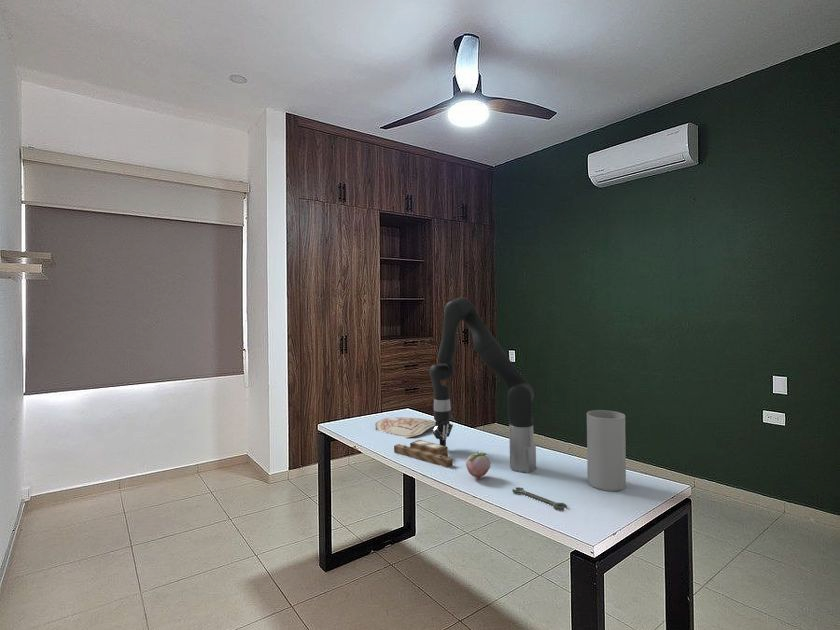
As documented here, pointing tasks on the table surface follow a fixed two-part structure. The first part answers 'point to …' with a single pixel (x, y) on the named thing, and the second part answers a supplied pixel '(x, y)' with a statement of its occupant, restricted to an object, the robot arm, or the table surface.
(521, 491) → the wrench
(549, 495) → the table surface
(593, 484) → the cylinder vase
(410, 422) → the poster
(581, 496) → the table surface
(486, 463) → the decorative fruit
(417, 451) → the walnut rail
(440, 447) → the walnut frame
